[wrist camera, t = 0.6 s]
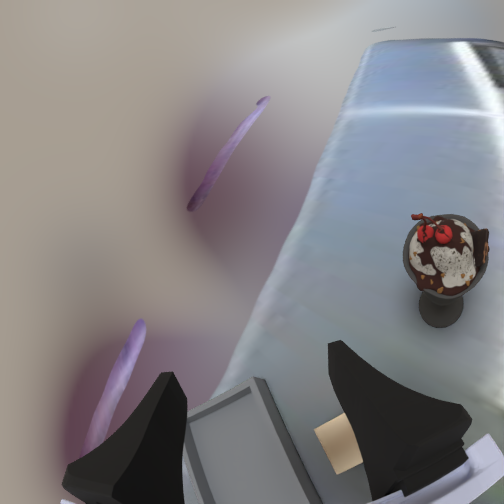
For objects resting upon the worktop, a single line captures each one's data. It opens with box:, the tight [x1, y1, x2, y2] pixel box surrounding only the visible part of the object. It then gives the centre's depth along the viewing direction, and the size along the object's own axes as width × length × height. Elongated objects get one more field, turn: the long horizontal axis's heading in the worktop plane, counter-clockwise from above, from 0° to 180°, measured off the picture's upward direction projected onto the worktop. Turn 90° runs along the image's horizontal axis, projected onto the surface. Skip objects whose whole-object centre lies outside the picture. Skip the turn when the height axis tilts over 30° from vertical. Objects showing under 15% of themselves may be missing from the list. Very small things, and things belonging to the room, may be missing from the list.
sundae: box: [403, 213, 489, 328], centre depth 17 cm, size 7×7×15 cm
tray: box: [183, 377, 322, 504], centre depth 22 cm, size 18×13×2 cm
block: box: [314, 413, 363, 474], centre depth 18 cm, size 4×4×6 cm
